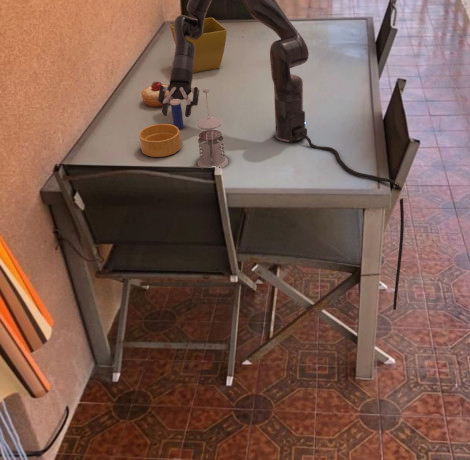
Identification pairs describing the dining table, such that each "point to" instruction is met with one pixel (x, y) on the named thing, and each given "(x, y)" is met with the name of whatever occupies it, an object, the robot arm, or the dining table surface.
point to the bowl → (160, 140)
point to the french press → (210, 141)
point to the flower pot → (208, 45)
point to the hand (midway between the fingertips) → (175, 115)
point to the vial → (177, 113)
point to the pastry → (153, 94)
